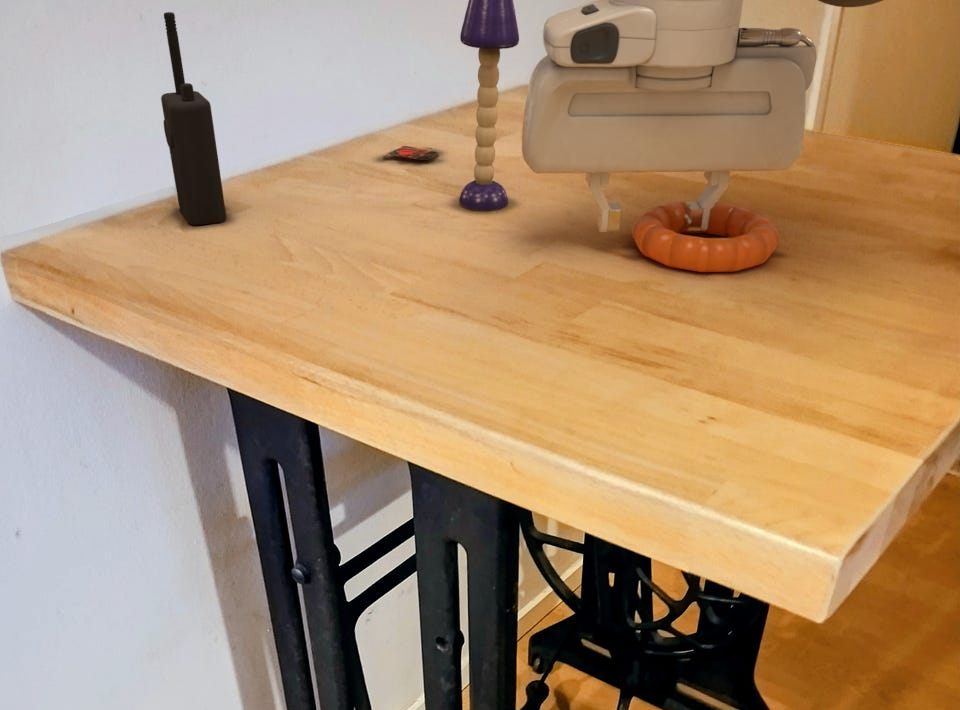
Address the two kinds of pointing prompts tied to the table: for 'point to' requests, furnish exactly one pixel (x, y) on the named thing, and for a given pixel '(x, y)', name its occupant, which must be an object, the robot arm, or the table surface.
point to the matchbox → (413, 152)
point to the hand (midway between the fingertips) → (651, 229)
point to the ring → (740, 251)
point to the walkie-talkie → (191, 143)
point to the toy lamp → (487, 94)
